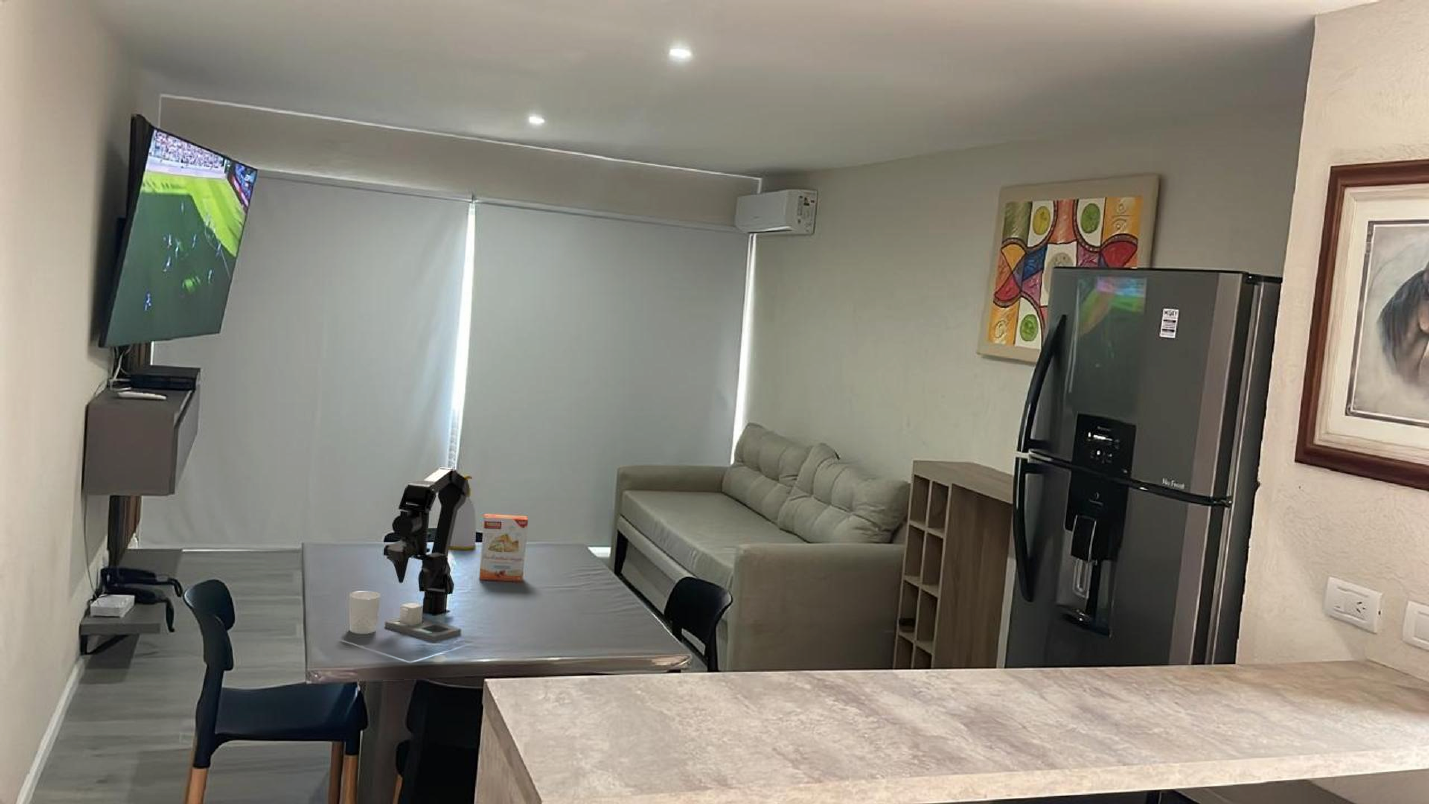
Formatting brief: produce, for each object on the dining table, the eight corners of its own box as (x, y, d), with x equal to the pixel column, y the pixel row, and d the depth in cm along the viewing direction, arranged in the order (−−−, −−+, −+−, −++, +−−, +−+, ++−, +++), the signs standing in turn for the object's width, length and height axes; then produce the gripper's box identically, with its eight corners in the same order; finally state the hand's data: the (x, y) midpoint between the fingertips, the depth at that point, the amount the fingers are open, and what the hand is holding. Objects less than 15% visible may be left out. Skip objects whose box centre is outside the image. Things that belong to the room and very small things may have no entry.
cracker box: (479, 580, 366) (484, 516, 364) (479, 575, 371) (484, 513, 370) (523, 582, 368) (528, 519, 367) (522, 577, 374) (527, 515, 373)
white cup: (368, 637, 297) (371, 600, 297) (341, 633, 299) (344, 596, 298) (383, 630, 305) (386, 593, 304) (356, 625, 307) (359, 589, 306)
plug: (410, 624, 311) (412, 602, 310) (421, 627, 309) (422, 605, 309) (397, 627, 307) (399, 605, 306) (408, 630, 305) (409, 608, 304)
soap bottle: (438, 548, 404) (444, 475, 402) (451, 542, 416) (456, 471, 413) (468, 552, 402) (474, 479, 400) (480, 546, 414) (486, 475, 412)
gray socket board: (411, 621, 315) (412, 613, 315) (460, 636, 306) (461, 628, 306) (384, 628, 306) (385, 620, 306) (434, 644, 297) (434, 635, 297)
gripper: (369, 527, 304) (366, 584, 305) (420, 540, 294) (416, 599, 296) (400, 522, 313) (396, 577, 315) (451, 534, 304) (446, 591, 305)
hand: (413, 586), depth 307 cm, fingers open, 9 cm apart
